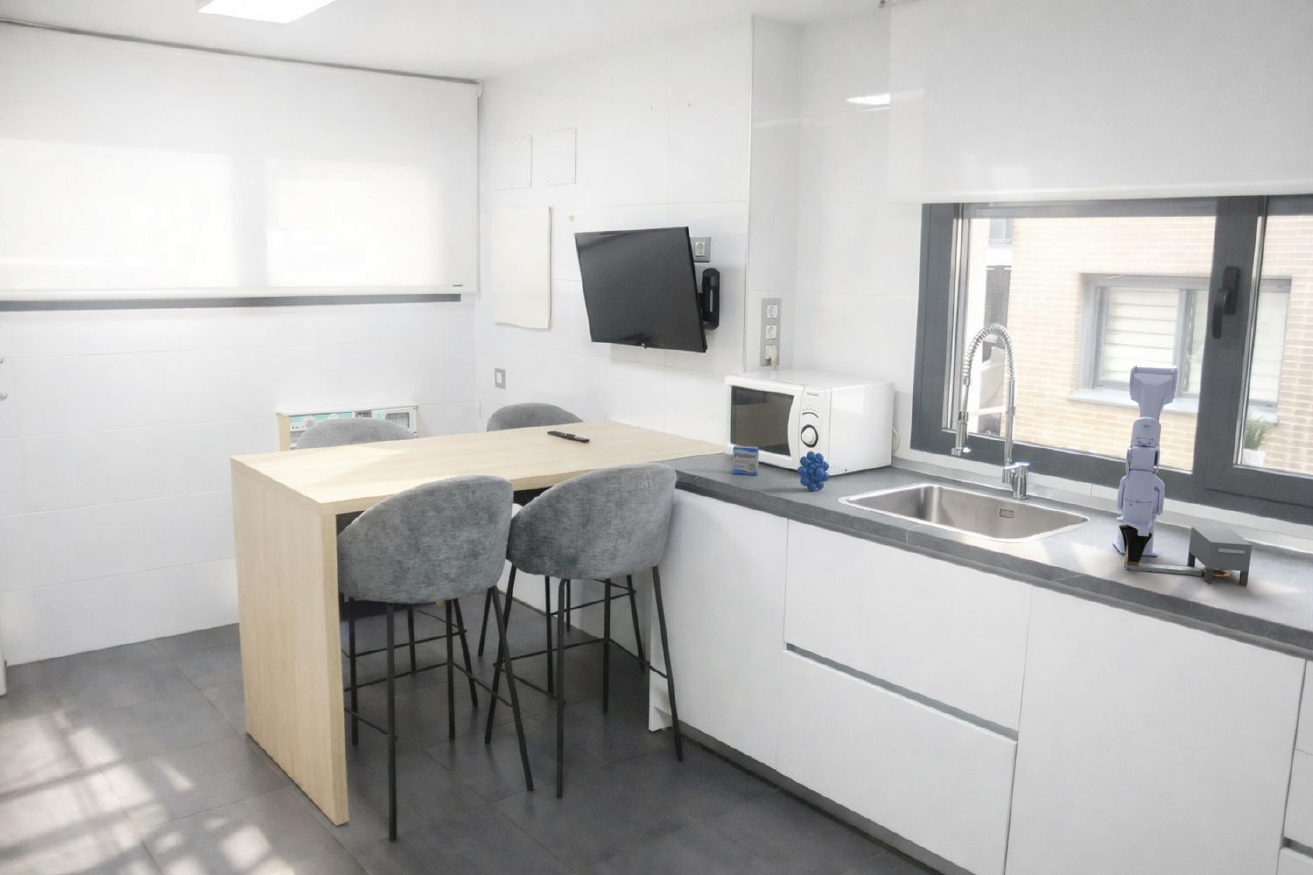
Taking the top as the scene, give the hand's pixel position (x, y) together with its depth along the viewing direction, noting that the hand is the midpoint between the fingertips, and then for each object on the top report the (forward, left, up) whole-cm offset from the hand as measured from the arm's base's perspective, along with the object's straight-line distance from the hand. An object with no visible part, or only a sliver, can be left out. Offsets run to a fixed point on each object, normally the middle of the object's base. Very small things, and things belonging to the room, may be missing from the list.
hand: (1132, 559), depth 229 cm
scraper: (0, +6, -2) cm, 7 cm away
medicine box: (-78, -97, -2) cm, 124 cm away
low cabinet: (0, +17, -2) cm, 17 cm away
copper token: (0, +17, -2) cm, 17 cm away
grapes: (-58, -74, -2) cm, 94 cm away
